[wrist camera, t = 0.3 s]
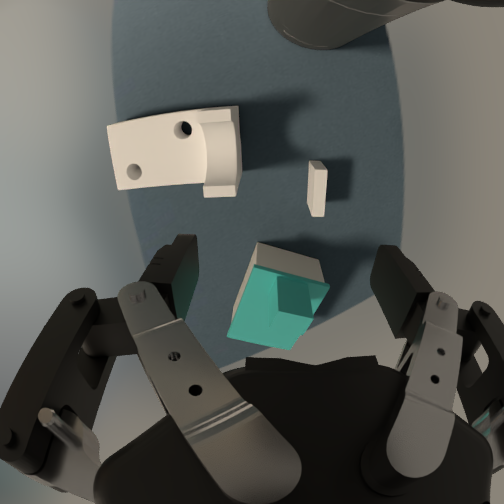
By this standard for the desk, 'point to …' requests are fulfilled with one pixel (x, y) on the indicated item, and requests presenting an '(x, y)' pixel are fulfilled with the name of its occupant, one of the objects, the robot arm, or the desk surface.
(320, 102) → the desk surface
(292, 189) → the desk surface
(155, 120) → the bracket
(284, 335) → the lid
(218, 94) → the desk surface
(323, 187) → the eraser
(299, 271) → the tub
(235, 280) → the desk surface
